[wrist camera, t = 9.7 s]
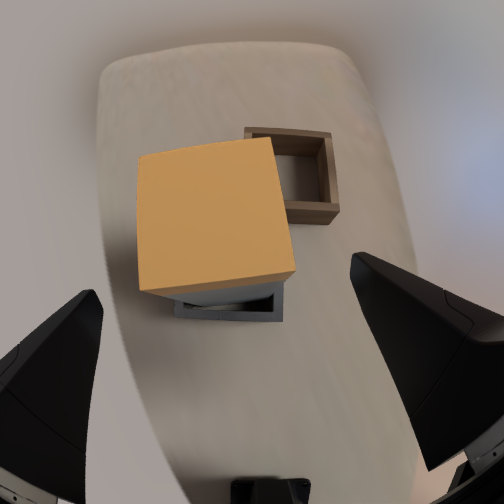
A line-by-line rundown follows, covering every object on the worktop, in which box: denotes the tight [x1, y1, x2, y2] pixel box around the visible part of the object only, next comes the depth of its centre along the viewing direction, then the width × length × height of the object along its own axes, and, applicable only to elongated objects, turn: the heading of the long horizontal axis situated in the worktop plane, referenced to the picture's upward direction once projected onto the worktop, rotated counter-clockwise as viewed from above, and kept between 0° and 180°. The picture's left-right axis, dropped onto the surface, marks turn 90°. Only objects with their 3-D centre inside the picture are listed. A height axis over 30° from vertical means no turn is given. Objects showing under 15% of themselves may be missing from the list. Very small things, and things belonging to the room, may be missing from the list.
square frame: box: [244, 127, 340, 225], centre depth 21 cm, size 7×7×3 cm
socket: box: [174, 284, 283, 322], centre depth 19 cm, size 7×7×3 cm
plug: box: [137, 137, 296, 307], centre depth 15 cm, size 4×4×13 cm
